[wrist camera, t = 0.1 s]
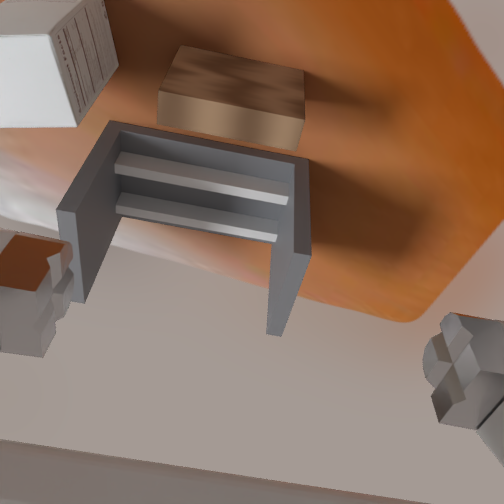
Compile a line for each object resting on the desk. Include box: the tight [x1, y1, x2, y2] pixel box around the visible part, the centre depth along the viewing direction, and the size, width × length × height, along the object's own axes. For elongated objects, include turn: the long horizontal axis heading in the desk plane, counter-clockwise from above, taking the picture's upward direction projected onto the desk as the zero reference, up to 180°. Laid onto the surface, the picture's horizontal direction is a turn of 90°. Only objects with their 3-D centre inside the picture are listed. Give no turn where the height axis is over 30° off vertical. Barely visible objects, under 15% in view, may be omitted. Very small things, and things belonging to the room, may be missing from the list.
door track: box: [56, 120, 312, 336], centre depth 50 cm, size 22×12×16 cm, turn 80°
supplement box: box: [0, 0, 119, 128], centre depth 40 cm, size 7×7×13 cm
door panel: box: [157, 45, 305, 151], centre depth 43 cm, size 12×3×10 cm, turn 80°
